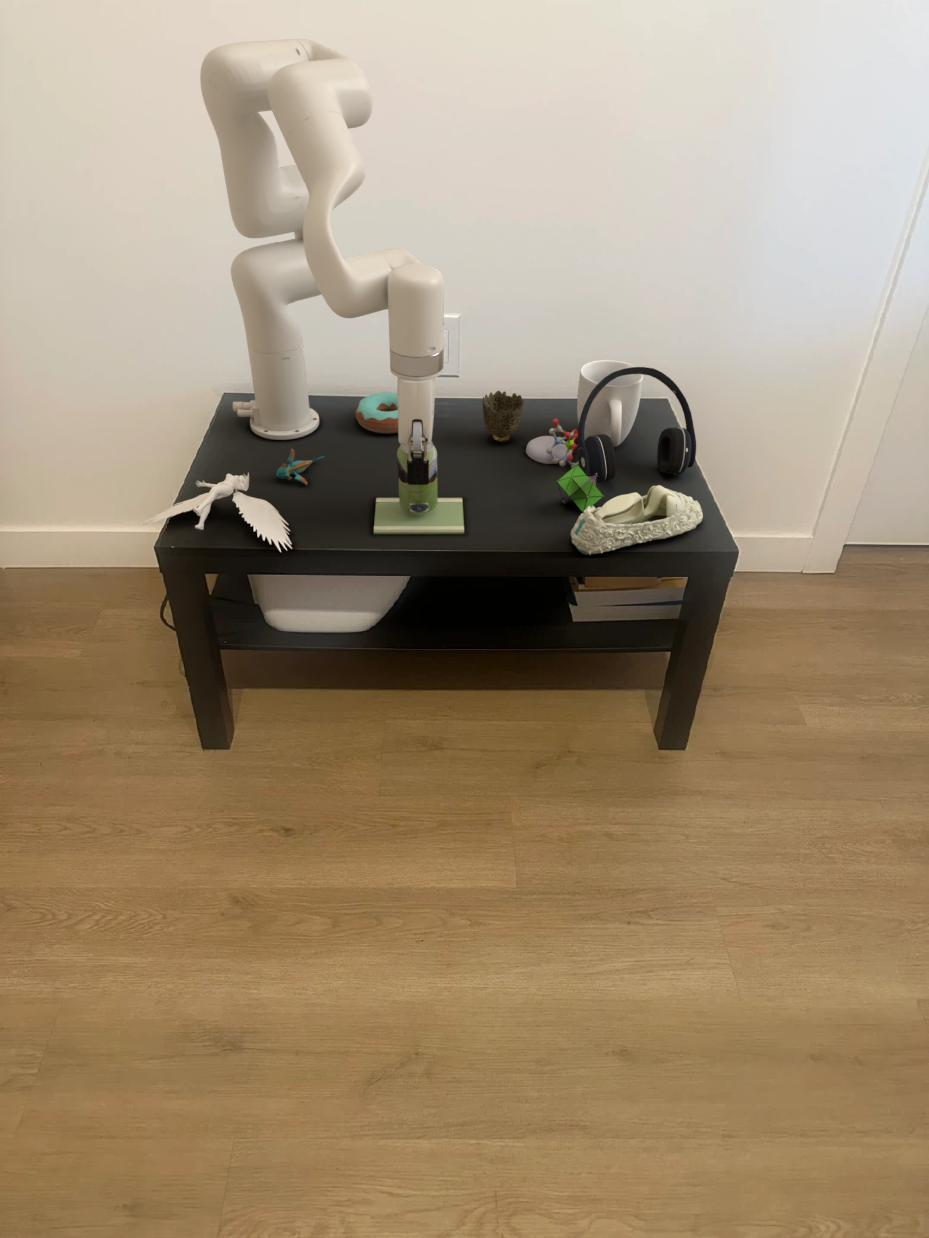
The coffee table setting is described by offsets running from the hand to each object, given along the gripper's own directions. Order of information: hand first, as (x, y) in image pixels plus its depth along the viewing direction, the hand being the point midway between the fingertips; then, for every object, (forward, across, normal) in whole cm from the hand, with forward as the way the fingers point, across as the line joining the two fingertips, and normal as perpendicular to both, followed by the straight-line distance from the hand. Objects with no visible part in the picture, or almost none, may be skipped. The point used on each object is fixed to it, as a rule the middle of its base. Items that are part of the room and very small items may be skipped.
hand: (418, 471), depth 133 cm
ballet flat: (+9, +5, +34) cm, 36 cm away
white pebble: (+6, -21, +23) cm, 32 cm away
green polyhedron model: (+4, +1, +26) cm, 27 cm away
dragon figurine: (+8, -13, -20) cm, 25 cm away
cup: (+8, -25, +15) cm, 30 cm away
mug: (+8, -24, +33) cm, 42 cm away
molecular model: (+3, -21, +25) cm, 33 cm away
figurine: (0, +9, -32) cm, 33 cm away
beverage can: (+7, 0, 0) cm, 7 cm away
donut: (+8, -32, -6) cm, 34 cm away
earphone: (+8, -10, +37) cm, 39 cm away
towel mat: (+8, 0, 0) cm, 8 cm away
